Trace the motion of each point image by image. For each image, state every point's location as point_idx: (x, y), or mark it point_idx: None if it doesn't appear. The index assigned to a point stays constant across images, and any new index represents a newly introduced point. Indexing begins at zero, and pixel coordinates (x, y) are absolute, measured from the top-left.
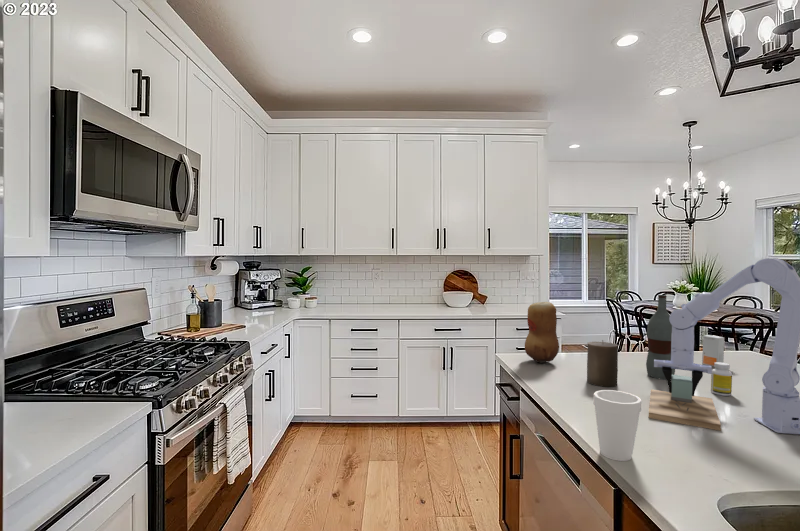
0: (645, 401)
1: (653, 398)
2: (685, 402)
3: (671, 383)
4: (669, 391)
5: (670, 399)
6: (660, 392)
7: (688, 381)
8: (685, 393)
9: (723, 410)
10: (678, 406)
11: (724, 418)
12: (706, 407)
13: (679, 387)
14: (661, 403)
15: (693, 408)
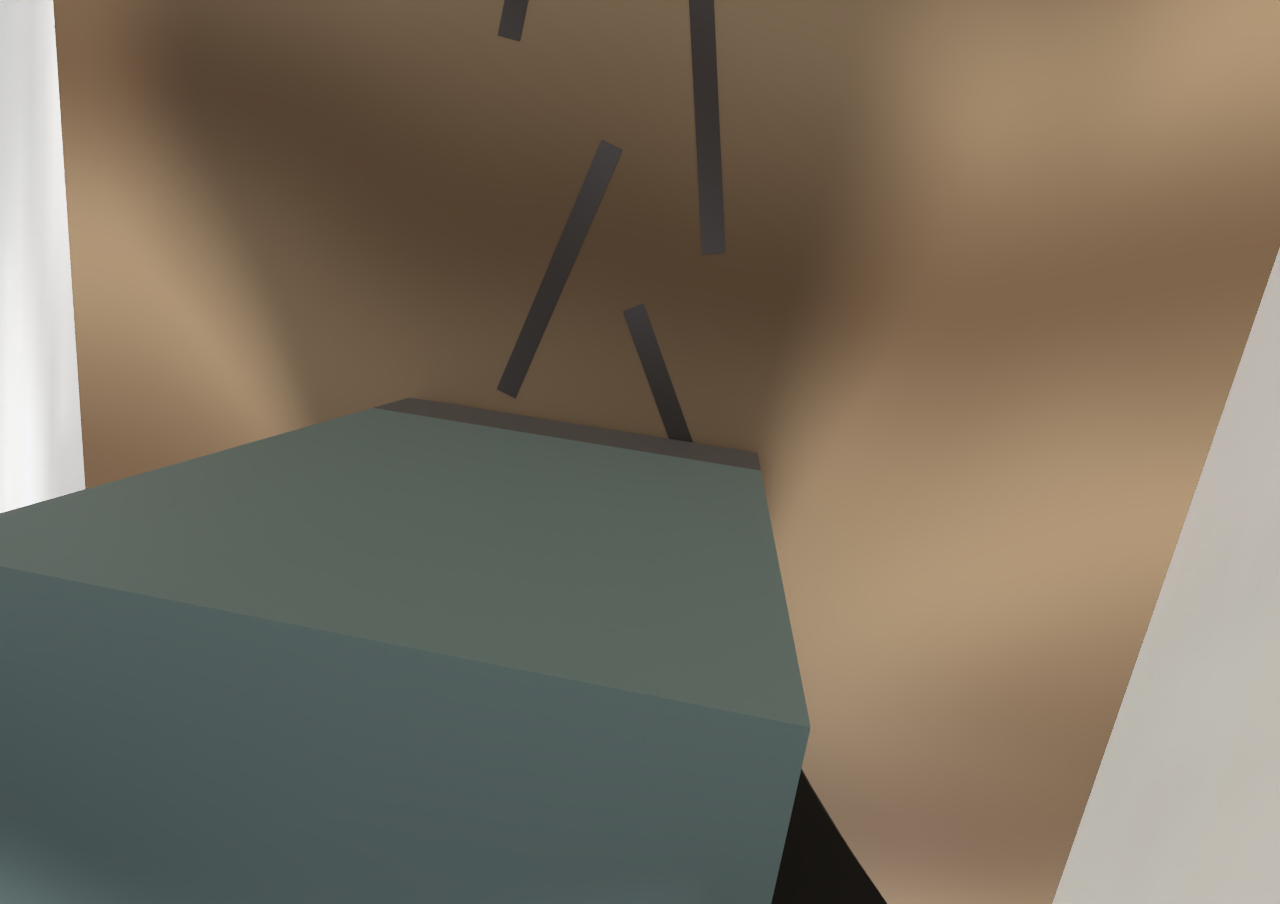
0: (1202, 489)
1: (1135, 430)
2: (515, 413)
3: None
4: None
5: (768, 500)
6: None
7: (54, 705)
8: (440, 458)
9: (57, 496)
10: (700, 16)
11: (50, 68)
12: (198, 246)
13: (541, 526)
14: (1046, 89)
15: (420, 37)
